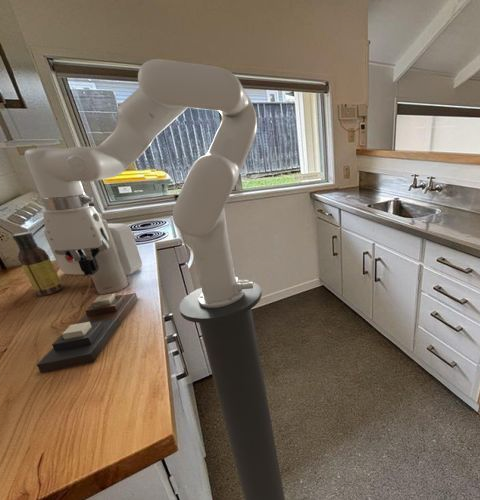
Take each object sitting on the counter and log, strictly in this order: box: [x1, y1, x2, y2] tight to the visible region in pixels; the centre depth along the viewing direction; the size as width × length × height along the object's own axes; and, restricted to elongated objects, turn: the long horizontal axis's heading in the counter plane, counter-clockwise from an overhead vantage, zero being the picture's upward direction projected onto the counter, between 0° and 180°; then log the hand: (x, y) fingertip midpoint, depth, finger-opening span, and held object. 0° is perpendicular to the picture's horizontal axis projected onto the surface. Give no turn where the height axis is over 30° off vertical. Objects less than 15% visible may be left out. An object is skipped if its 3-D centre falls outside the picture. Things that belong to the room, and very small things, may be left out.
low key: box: [92, 293, 116, 307], centre depth 77 cm, size 4×4×2 cm
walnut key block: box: [75, 292, 138, 326], centre depth 77 cm, size 9×14×4 cm, turn 19°
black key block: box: [36, 318, 120, 374], centre depth 65 cm, size 9×14×4 cm, turn 19°
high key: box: [61, 322, 92, 340], centre depth 64 cm, size 4×4×2 cm
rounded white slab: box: [43, 223, 143, 276], centre depth 101 cm, size 29×8×18 cm, turn 85°
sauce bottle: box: [11, 231, 63, 296], centre depth 88 cm, size 6×6×20 cm
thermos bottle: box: [83, 202, 129, 295], centre depth 88 cm, size 8×8×28 cm
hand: (91, 272), depth 73 cm, fingers closed
